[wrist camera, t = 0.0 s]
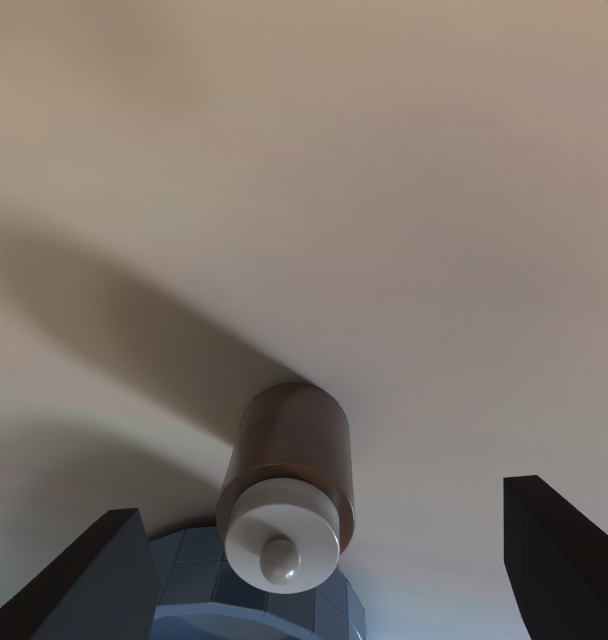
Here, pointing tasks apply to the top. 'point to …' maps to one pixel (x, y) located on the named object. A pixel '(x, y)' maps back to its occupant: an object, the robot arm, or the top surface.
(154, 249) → the top surface
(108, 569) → the robot arm
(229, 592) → the bowl
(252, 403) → the pepper mill
